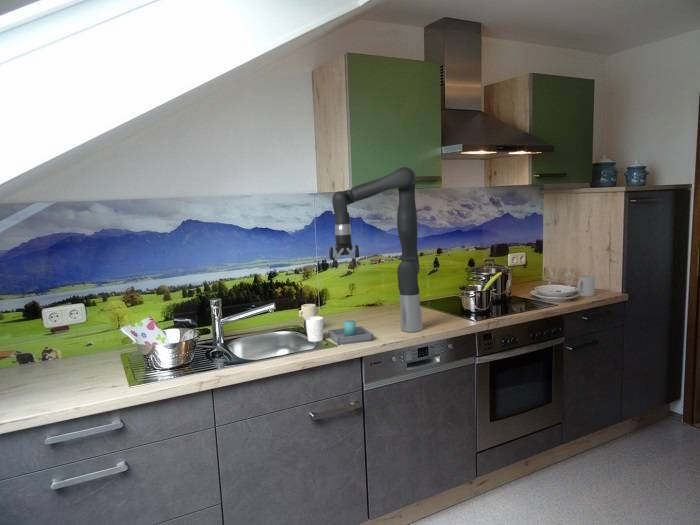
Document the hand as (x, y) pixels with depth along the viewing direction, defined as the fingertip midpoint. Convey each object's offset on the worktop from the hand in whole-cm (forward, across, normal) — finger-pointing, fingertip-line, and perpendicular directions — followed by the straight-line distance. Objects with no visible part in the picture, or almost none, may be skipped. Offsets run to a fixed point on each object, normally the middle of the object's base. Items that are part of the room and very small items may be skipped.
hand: (344, 267), depth 242 cm
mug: (+30, -148, -10) cm, 151 cm away
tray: (+30, +4, +17) cm, 35 cm away
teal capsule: (+30, +4, +17) cm, 34 cm away
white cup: (+30, +19, +12) cm, 38 cm away
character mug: (+30, +18, -4) cm, 35 cm away
